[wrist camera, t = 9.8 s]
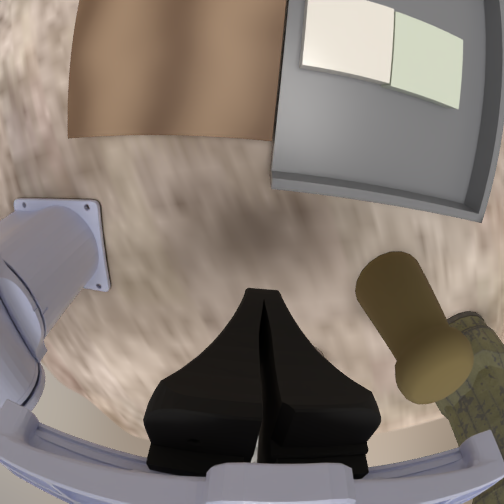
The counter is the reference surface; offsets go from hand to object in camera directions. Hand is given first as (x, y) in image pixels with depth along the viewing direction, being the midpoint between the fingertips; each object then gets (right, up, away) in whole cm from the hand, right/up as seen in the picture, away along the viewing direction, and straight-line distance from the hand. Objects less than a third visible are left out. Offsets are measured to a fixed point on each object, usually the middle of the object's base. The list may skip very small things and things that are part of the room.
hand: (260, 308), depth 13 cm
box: (+9, +15, +3) cm, 18 cm away
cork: (+11, 0, +11) cm, 15 cm away
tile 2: (+5, +15, +1) cm, 16 cm away
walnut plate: (-5, +16, +2) cm, 17 cm away
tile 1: (+10, +14, +1) cm, 17 cm away
